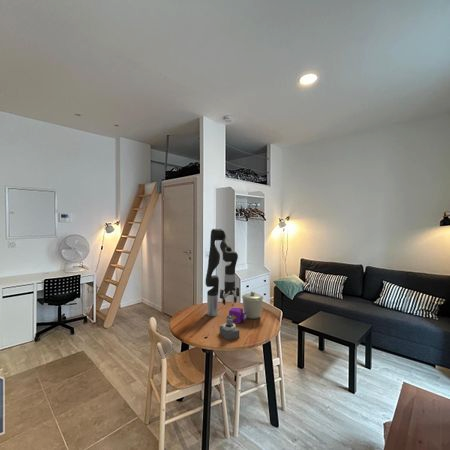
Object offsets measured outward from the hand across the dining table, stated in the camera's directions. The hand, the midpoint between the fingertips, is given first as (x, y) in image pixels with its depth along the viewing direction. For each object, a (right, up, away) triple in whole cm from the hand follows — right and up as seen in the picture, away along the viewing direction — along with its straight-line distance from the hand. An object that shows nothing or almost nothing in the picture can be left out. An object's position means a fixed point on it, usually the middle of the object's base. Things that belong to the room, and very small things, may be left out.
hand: (229, 303), depth 168 cm
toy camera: (+7, -22, +25) cm, 34 cm away
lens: (0, -17, 0) cm, 17 cm away
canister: (+20, -23, +35) cm, 46 cm away
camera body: (0, -22, 0) cm, 22 cm away
